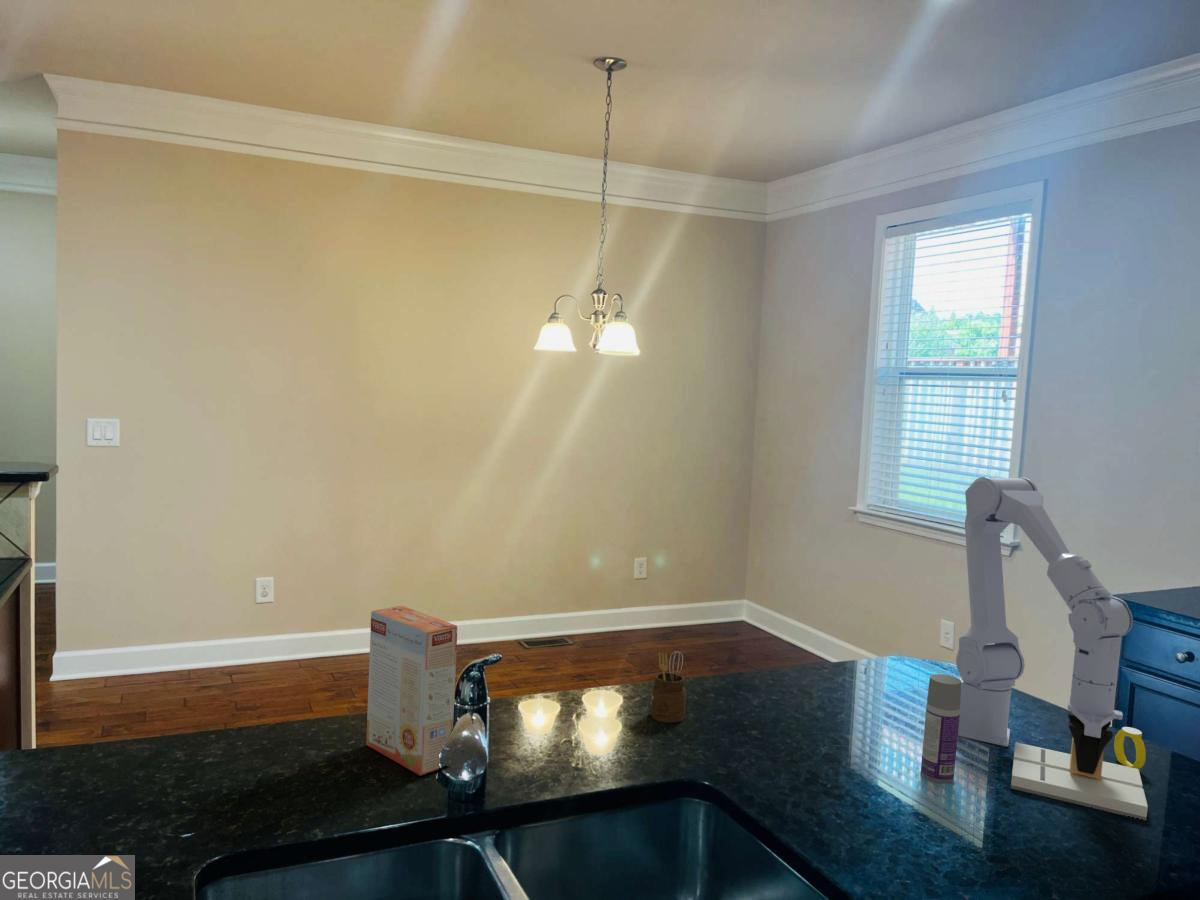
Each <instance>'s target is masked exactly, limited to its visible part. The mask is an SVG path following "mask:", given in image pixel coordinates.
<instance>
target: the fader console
mask: <svg viewBox="0 0 1200 900" xmlns="http://www.w3.org/2000/svg"><path fill="white" fill-rule="evenodd" d="M1013 751H1014V752H1013V753H1014V754H1013V762H1012V763H1013V764H1012V772H1011V783H1010V789H1013V790H1018V791H1020V792H1024V793H1028V794H1029V793H1030V794H1032V795H1037V796H1041V797H1046V798H1050V799H1054V800H1059V801H1061V802H1065V803H1066V802H1067V803H1071V804H1074V805H1078V806H1079V805H1080V806H1084V807H1087V808H1091V807H1092V808H1091V809H1096V810H1099V811H1103V810H1104V811H1105V812H1108V813H1111V814H1116V815H1121V816H1124V815H1125V816H1124V817H1128V816H1130V817H1129V818H1132V817H1134V818H1133V819H1136V818H1139V819H1138V820H1141V819H1143V820H1142V821H1145V820H1146V821H1147V816H1148V807H1149V806H1148V801H1147V799H1146V795H1145V790H1144V788H1143V782H1142V778H1141V774H1140V769H1136V768H1131V767H1127V766H1124V765H1123V764H1118V763H1113V762H1108V761H1104V760H1103V764H1102V773H1101V779H1097V778H1093V777H1088V776H1084V775H1080V774H1075V773H1071V772H1070V755H1071V753H1066V752H1061V751H1058V750H1052V749H1049V748H1044V747H1038V746H1035V745H1031V744H1025V743H1020V742H1017V741H1016V742H1015V743H1014V750H1013Z"/></svg>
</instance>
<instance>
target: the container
mask: <svg viewBox="0 0 1200 900" xmlns="http://www.w3.org/2000/svg"><path fill="white" fill-rule="evenodd" d="M958 678H959V677H957V678H956V677H955V676H953V675H949V674H942V673H941V674H940V673H934V674H931V675H930V676H929V681H928V691H927V697H926V698H927V700H926V708H925V717H924V731H923V741H922V754H921V762H920V763H921V766H920V774H921V776H922V777H924V778H925V779H927V780H929V781H932V782H935V783H941V784H949V783H952V782H953V781H954V778H955V769H956V759H957V758H956V757H957V747H958V739H959V736H958V728H959V717H960V701H961V684H962V681H961V680H960V679H958Z"/></svg>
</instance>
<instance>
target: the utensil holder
mask: <svg viewBox="0 0 1200 900" xmlns="http://www.w3.org/2000/svg"><path fill="white" fill-rule="evenodd" d="M674 653H675V654H674ZM677 653H678V655H680V656H681V657H682V658H681V657H678V661H677V662H678V663H677V668H676V673H675V672H674V666H675V665H674V664H675V659H676V655H677ZM673 655H674V656H673ZM672 656H673V660H672ZM680 658H681V659H682V661H681V665H683V663H684V662H683V661H684V655H683V654H682V653H681V652H680V651H678V650H677V651H676V650H675V651H673V652H672V653H671V654H670V659H669V661H671V660H672V667H671V662H668V655H667V653H665V654H664V652H658V668H659V670H661V671H662V672H659V673H657V674H655V676H654V680H653V683H654V684H653V686H652V689H651V695H650V716H651V718H653V719H654V720H656V721H658V722H660V723H665V724H674V723H675V724H676V723H679V722H682V721H683V720H684V718H685V714H686V703H687V702H686V701H687V691H686V688H685V685H686V681H685V677H684V676H683V675H681V674H680V673H678V670H679V666H680ZM668 663H669V664H668ZM671 668H672V669H671ZM682 668H683V666H681V667H680V670H682ZM668 669H669V672H667V671H668Z"/></svg>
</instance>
